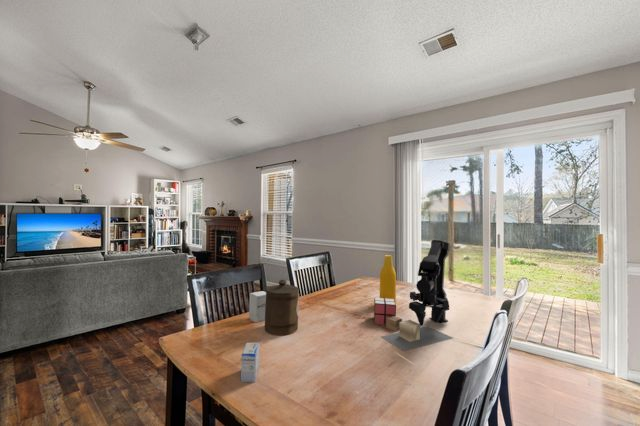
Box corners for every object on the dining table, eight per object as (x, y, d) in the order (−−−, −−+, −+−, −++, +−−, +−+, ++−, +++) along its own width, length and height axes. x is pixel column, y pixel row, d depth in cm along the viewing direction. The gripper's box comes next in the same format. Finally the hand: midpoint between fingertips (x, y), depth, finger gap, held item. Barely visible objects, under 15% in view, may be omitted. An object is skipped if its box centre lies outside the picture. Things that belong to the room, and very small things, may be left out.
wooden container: (304, 328, 127) (305, 280, 127) (278, 339, 116) (279, 285, 116) (283, 320, 137) (284, 275, 137) (257, 328, 126) (259, 279, 126)
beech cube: (410, 319, 123) (399, 321, 120) (420, 324, 117) (410, 327, 115) (409, 333, 123) (399, 336, 120) (420, 339, 117) (409, 341, 114)
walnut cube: (392, 326, 132) (392, 315, 132) (401, 329, 128) (401, 318, 129) (386, 328, 129) (386, 317, 129) (395, 332, 125) (395, 321, 125)
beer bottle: (383, 302, 169) (383, 254, 170) (398, 305, 164) (398, 255, 164) (376, 305, 162) (377, 255, 162) (392, 309, 156) (392, 257, 157)
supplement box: (255, 322, 133) (256, 296, 133) (248, 318, 138) (249, 292, 139) (269, 319, 138) (270, 293, 138) (261, 315, 143) (262, 290, 143)
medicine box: (245, 368, 93) (245, 342, 93) (258, 368, 93) (259, 342, 94) (240, 382, 85) (241, 353, 85) (255, 382, 86) (256, 353, 86)
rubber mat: (427, 327, 132) (427, 326, 132) (453, 338, 119) (453, 337, 119) (380, 337, 119) (380, 336, 119) (403, 352, 106) (403, 351, 106)
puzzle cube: (395, 326, 132) (396, 304, 132) (374, 324, 134) (374, 303, 134) (394, 318, 142) (394, 298, 142) (373, 317, 144) (374, 297, 144)
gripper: (429, 282, 135) (429, 315, 135) (400, 286, 127) (399, 321, 127) (449, 288, 125) (449, 323, 125) (419, 292, 117) (418, 330, 117)
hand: (428, 324), depth 124 cm, fingers open, 9 cm apart
